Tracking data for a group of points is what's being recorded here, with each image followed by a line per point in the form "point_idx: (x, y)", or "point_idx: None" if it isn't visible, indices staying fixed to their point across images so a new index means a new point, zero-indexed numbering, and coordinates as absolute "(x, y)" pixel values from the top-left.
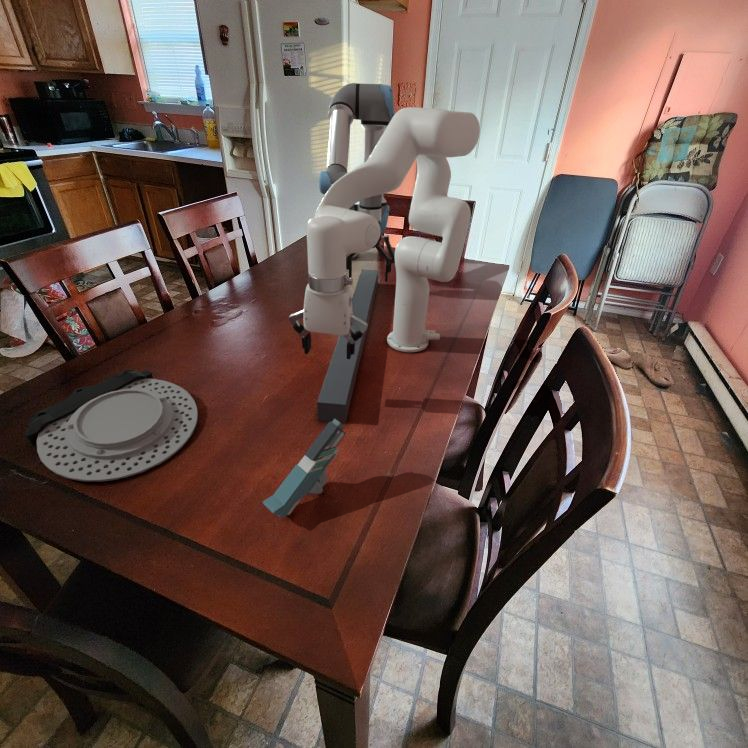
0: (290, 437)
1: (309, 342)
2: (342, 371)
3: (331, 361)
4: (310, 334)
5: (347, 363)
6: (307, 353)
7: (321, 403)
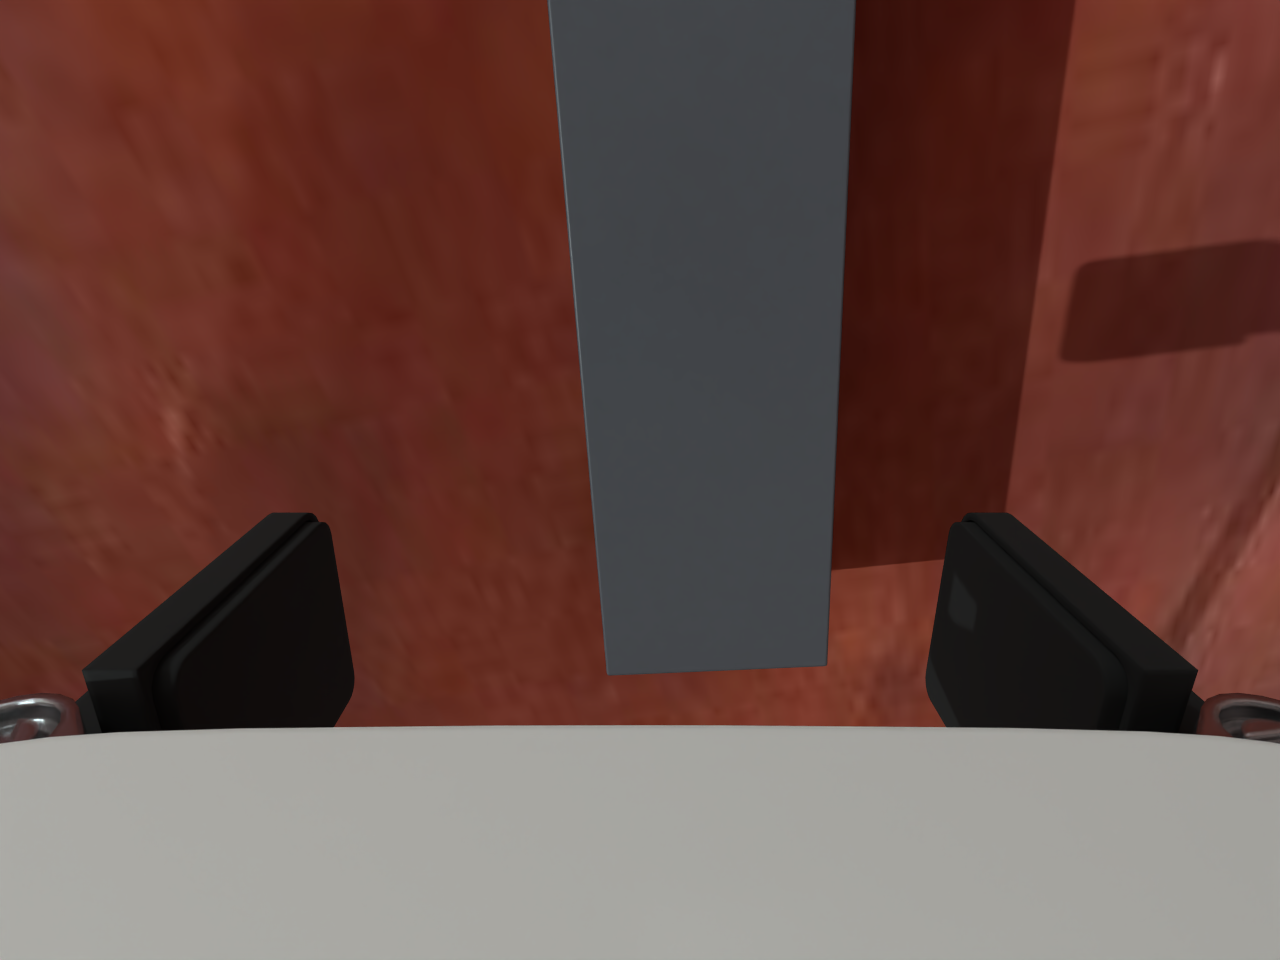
0: (505, 724)
1: (276, 676)
2: (728, 210)
3: (558, 13)
4: (186, 680)
5: (757, 16)
6: (349, 692)
7: (641, 670)
